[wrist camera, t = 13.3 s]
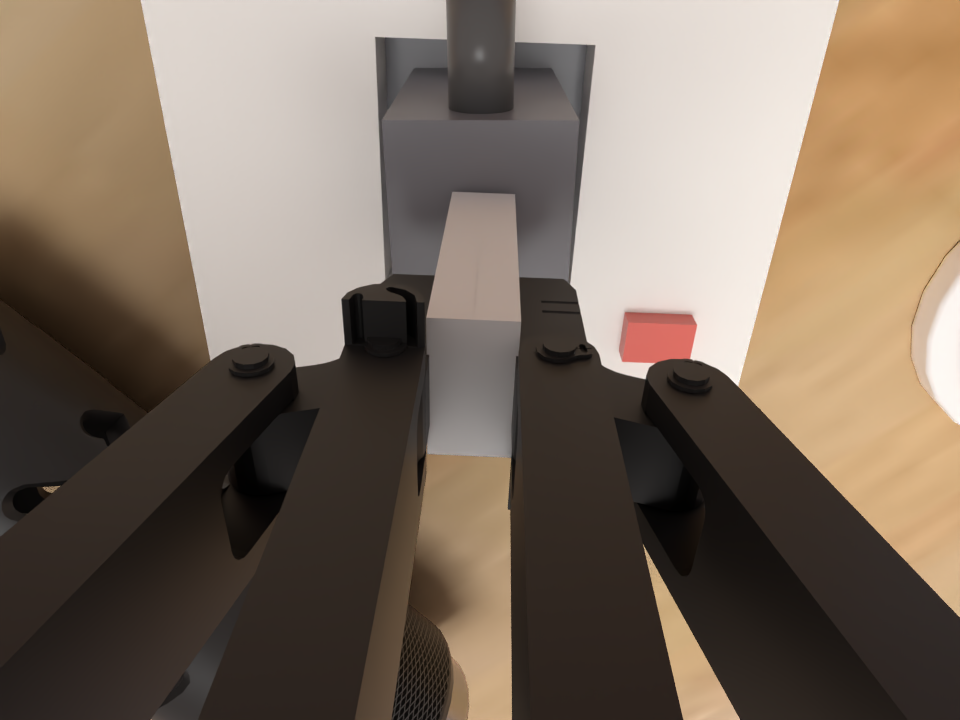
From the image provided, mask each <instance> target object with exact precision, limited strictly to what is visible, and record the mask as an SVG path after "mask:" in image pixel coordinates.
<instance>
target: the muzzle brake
mask: <svg viewBox="0 0 960 720" xmlns="http://www.w3.org/2000/svg"><path fill="white" fill-rule="evenodd" d="M147 414H148V413H147V412H146V411H145V410H143V409H142V408H141V407H140V406H138V405H137V404H136V403H135V402H133V401H132V400H131V399H130V398H128V397H127V396H125V395H124V394H123V393H121V392H120V391H119V390H117V389H116V388H115V387H114V386H112V385H111V384H110V383H109V382H108V381H107V380H106V379H105V378H103V377H102V376H101V375H99V374H98V373H97V372H96V371H94V370H93V369H92V368H90V367H89V366H88V365H86V364H85V363H84V362H83V361H81V360H80V359H79V358H77V357H76V356H75V355H73V354H72V353H71V352H70V351H68V350H67V349H66V348H64V347H63V346H62V345H60V344H59V343H58V342H57V341H55V340H54V339H53V338H51V337H50V336H49V335H47V334H46V333H45V332H44V331H42V330H41V329H40V328H38V327H36V326H35V325H33V324H32V323H30V322H29V321H28V320H26V319H25V318H24V317H22V316H21V315H20V314H19V313H17V312H16V311H15V310H14V309H13V308H11V307H10V306H8V305H7V304H6V303H4V302H3V301H2V300H0V536H2V535H3V534H4V533H5V532H6V531H8V530H9V529H10V528H11V527H12V526H14V525H15V524H16V523H17V522H18V521H20V520H21V519H22V518H23V517H24V516H26V515H27V514H28V513H29V512H30V511H32V510H33V509H34V508H35V507H36V506H38V505H39V504H40V503H41V502H42V501H44V500H45V499H46V498H47V497H48V496H50V495H51V494H52V493H49V492H47V491H45V490H44V489H43V488H42V487H48V486H62V485H63V484H64V483H65V482H66V481H68V480H69V479H70V478H71V477H72V476H74V475H75V474H76V473H77V472H78V471H79V470H81V469H82V468H83V467H84V466H85V465H87V464H88V463H89V462H90V461H91V460H93V459H94V458H95V457H96V456H97V455H99V454H100V453H101V452H102V451H103V450H105V449H106V448H107V447H108V446H109V445H111V444H112V443H113V442H114V441H115V440H117V439H118V438H119V437H120V436H121V435H123V434H124V433H125V432H126V431H127V430H129V429H130V428H131V427H132V426H133V425H135V424H136V423H137V422H138V421H139V420H141V419H142V418H143V417H144V416H145V415H147ZM254 575H255V574H254ZM253 578H254V576H253V577H252V579H251V580H250V581H249V583H248V584H247V586H246V587H245V588H244V590H243V591H242V593H241V594H240V595H239V597H238V598H237V599H236V601H235V602H234V604H233V605H232V606H231V608H230V609H229V611H228V612H227V613H226V615H225V616H224V618H223V619H222V620H221V622H220V623H219V625H218V626H217V627H216V629H215V630H214V632H213V633H212V634H211V636H210V637H209V639H208V640H207V641H206V643H205V644H204V646H203V647H202V648H201V650H200V651H199V653H198V654H197V655H196V657H195V658H194V660H193V661H192V662H191V664H190V665H189V667H188V668H187V669H186V671H185V672H184V674H183V675H182V676H181V678H180V679H179V681H178V682H177V683H176V685H175V686H174V687H173V689H172V690H171V692H170V693H169V694H168V696H167V697H166V699H165V700H164V701H163V703H162V704H161V706H160V707H159V708H158V710H157V711H156V713H155V714H154V715H153V717H152V718H151V719H152V720H198V718H199V715H200V713H201V710H202V708H203V705H204V703H205V700H206V698H207V695H208V692H209V690H210V687H211V685H212V682H213V680H214V677H215V675H216V672H217V669H218V667H219V664H220V662H221V659H222V657H223V654H224V652H225V649H226V646H227V644H228V641H229V639H230V636H231V634H232V631H233V629H234V626H235V623H236V621H237V618H238V616H239V613H240V611H241V608H242V606H243V603H244V601H245V598H246V595H247V593H248V590H249V588H250V585H251V583H252V580H253ZM468 710H469V691H468V685H467V681H466V677H465V675H464V673H463V671H462V669H461V667H460V665H459V664H458V663H457V662H456V661H455V660H454V659H453V658H452V657H451V655H450V651H449V647H448V644H447V642H446V640H445V638H444V636H443V634H442V632H441V631H440V630H439V629H438V628H437V627H436V626H435V625H434V624H433V623H432V622H431V621H429V620H428V619H427V618H425V617H424V616H423V615H421V614H420V613H419V612H418V611H416V610H415V609H414V608H412V607H411V606H410V605H409V604H408V606H407V613H406V620H405V627H404V634H403V641H402V648H401V655H400V662H399V669H398V676H397V684H396V691H395V698H394V705H393V712H392V719H391V720H467V719H468Z"/></svg>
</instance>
